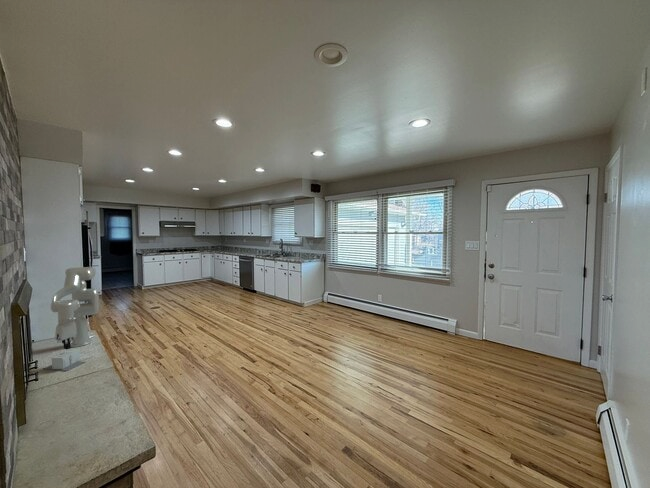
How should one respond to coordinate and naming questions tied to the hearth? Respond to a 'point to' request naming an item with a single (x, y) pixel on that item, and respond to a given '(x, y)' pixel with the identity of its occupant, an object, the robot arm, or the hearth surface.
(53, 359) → the supplement box
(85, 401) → the hearth surface
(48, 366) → the mat
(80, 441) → the hearth surface
